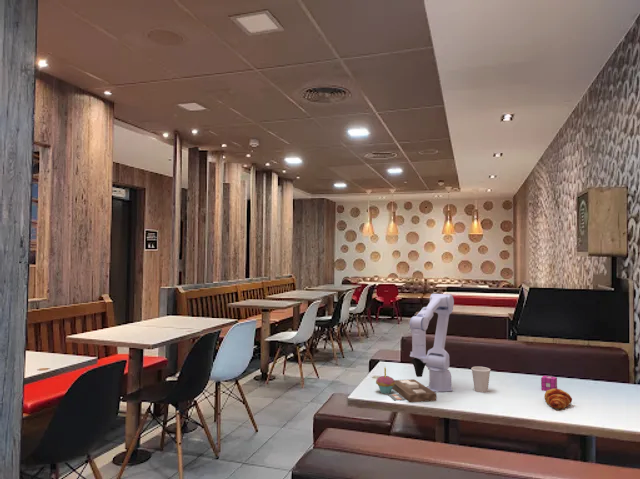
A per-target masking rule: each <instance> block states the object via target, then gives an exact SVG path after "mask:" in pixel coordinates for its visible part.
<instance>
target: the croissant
mask: <svg viewBox="0 0 640 479" xmlns="http://www.w3.org/2000/svg"><path fill="white" fill-rule="evenodd" d="M543 398H544V401H545V403H546V404H547V405H549V406H550V407H551V408H552V409H561V410H562V409H565V408H567V407H569V405H570V404H571V403H572V402H573V398H572V396H571V395H570V393H569V392H567V391H564V390H563V389H560V388H557V389H550V390H547V391H545V393H544V397H543Z"/></svg>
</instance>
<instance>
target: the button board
mask: <svg viewBox="0 0 640 479" xmlns="http://www.w3.org/2000/svg"><path fill="white" fill-rule="evenodd" d="M399 380H400V379H394V381H395V385H394V386H393V388H392V390H393V391H395V393H396V394H398V393H399V395H401V396H402V397H403V398H405V399H406V400H405V401H408V402H409V403H417V402H419V403H422V402H421V401H423V402H437V392H433V391H432V390H430V389H428V388H427V387H426V386H425V385H424V384H422V383H420V382H419V381H417V380H416V379H415V378H414V379H408V380H409V381H410V382H416V383H417V384H419V388H408V387H406V384H402V383H401V382H399ZM419 389H422V390H424V391H425V392H426V393H417V394H416V393H415V392H413V391H412V390H419Z"/></svg>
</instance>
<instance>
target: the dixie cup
mask: <svg viewBox="0 0 640 479" xmlns="http://www.w3.org/2000/svg"><path fill="white" fill-rule="evenodd" d="M470 370H471V374H472V380H473V388H474V389H473V390H474V391H475V392H477V393H488V391H489V383H490V377H491V376H490V374H491V370H492V369H491V368H489V367H485V366H472V367H471V368H470Z"/></svg>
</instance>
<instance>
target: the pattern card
mask: <svg viewBox="0 0 640 479" xmlns="http://www.w3.org/2000/svg"><path fill="white" fill-rule="evenodd" d="M387 396H388V397H389V398H391V400H393V401H395V402H396V400H400V401H407V400H406V399H405V398H404V397H402V396H401V395H400V394H398V393H396V394H393V393H392V394H388V395H387Z"/></svg>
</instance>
